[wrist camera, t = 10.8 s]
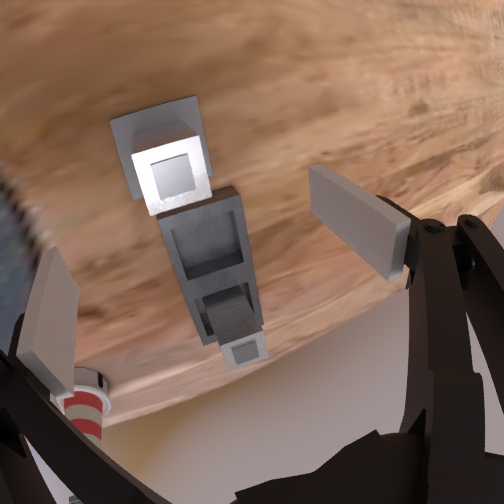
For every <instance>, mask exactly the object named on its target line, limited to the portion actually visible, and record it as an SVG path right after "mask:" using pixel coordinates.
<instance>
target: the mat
mask: <svg viewBox="0 0 504 504" xmlns="http://www.w3.org/2000/svg"><path fill="white" fill-rule="evenodd" d="M178 119H181V120H182V121H184V122H185V123H186V124H187V125H188V126H189V127H190V128H191V129H193V130H194V131H195V132H196V133H197V134H198V135H199V138H200V143H201V147H202V152H203V157H204V161H205V166H206V170H207V175H208V177H211V176H213V173H212V169H211V164H210V159H209V155H208V150H207V145H206V140H205V135H204V131H203V126H202V121H201V116H200V111H199V106H198V101H197V96H191V97H187V98H183V99H179V100H175V101H171V102H167V103H164V104H160V105H157V106H153V107H150V108H146V109H143V110H140V111H136V112H133V113H130V114H127V115H124V116H121V117H118V118H115V119H112V120H109V122H110V126H111V129H112V133H113V137H114V140H115V144H116V147H117V151H118V154H119V157H120V161H121V164H122V167H123V170H124V174H125V177H126V180H127V183H128V186H129V189H130V192H131V196H132V199H133V200H136V199H139V198H142V197H144V195H143V192H142V188H141V185H140V182H139V179H138V175H137V172H136V169H135V165H134V162H133V158H132V136H133V133H134V132H137V131H140V130H143V129H147V128H150V127H153V126H157V125H160V124H164V123H167V122H171V121H174V120H178Z"/></svg>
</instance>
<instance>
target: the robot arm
mask: <svg viewBox="0 0 504 504" xmlns="http://www.w3.org/2000/svg"><path fill="white" fill-rule="evenodd" d="M309 179H310V195H311V213H312V214H313V215H315V216H316V217H317V218H318V219H319V220H320V221H322V222H323V223H324V224H325V225H326V226H327V227H328V228H330V229H331V230H332V231H333V232H334V233H335V234H336V235H338V236H339V237H340V238H341V239H342V240H343V241H344V242H345V243H347V244H348V245H349V246H350V247H351V248H352V249H353V250H354V251H355V252H357V253H358V254H359V255H360V256H361V257H362V258H363V259H364V260H365V261H366V262H368V263H369V264H370V265H371V266H372V267H373V268H374V269H375V270H376V271H377V272H378V273H379V274H381V275H382V276H383V277H384V278H385V279H386V280H387V281H388V282H389V281H392V280H394V279H396V278H398V277H400V276H402V272H403V266H404V264H405V265H406V266H407V267H408V268H410V270H409V275H408V280H407V284H406V289H408V287H409V358H408V376H407V377H408V378H407V390H406V401H405V411H404V416H403V420H402V423H401V426H400V430H399V433H390V434H384V435H379V433H378V432H377V430H374V431H372V432H370V433H369V434H367V435H365V436H364V437H362V438H360V439H358V440H356V441H354V442H353V443H351V444H349V445H347V446H345V447H344V448H342V449H341V450H340V451H339V452H338V453H337V454H335V455H334V456H333V457H332V458H331V459H329V460H328V461H327V462H326V463H325V464H323V465H322V466H321V467H320V468H318V469H317V470H316V471H314V472H312V473H308V474H303V475H297V476H292V477H286V478H280V479H273V480H269V481H267V482H264V483H261V484H259V485H256V486H253V487H250V488H247V489H244V490H241V491H238V492H235V495H236V497H237V499H236V500H235V501H233V502H232V503H230V504H504V456H503V455H498V454H493V453H488V452H485V408H484V389H483V381H482V376H481V375H480V373H475V372H474V371H473V366H472V355H471V346H470V338H469V330H468V323H467V317H466V312H467V315H468V317H469V319H470V322H471V324H472V326H473V329H474V331H475V334H476V336H477V339H478V341H479V344H480V346H481V349H482V352H483V354H484V357H485V360H486V362H487V365H488V368H489V371H490V373H491V377H492V380H493V383H494V386H495V389H496V392H497V395H498V399H499V402H500V405H501V408H502V411H503V414H504V249H503V248H502V246H501V245H500V243H499V242H498V241H497V239H496V238H495V237H494V236H493V234H492V233H491V232H490V230H489V229H488V228H487V226H486V225H485V224H484V223H483V221H481V220H480V219H479V218H477V217H476V216H474V215H473V216H472V215H470V214H469V215H467V214H464V215H460V216H459V217H458V221H457V226H449V227H446V226H445V225H444V224H443V223H442V222H440V221H438V220H435V219H422V220H420V219H418V218H417V217H415V216H414V215H412V214H411V213H409V212H408V211H406V210H405V209H403V208H401V207H400V206H399V205H397V204H395V203H394V202H392V201H391V200H389V199H388V198H385V197H382V196H379V195H376V196H375V195H373V194H372V193H370V192H368V191H367V190H365V189H364V188H362V187H360V186H359V185H357V184H355V183H354V182H352V181H350V180H349V179H347V178H345V177H344V176H342V175H340V174H339V173H337V172H335V171H334V170H332V169H330V168H328V167H327V166H325V165H323V164H317V165H313V166H309ZM474 262H475V265H474ZM78 300H79V288H78V286H77V284H76V282H75V281H74V279H73V277H72V275H71V273H70V271H69V270H68V268H67V266H66V264H65V262H64V260H63V258H62V256H61V254H60V252H59V250H58V248H57V246H56V247H54V248H51V249H49V250H46V251H44V253H43V255H42V258H41V261H40V264H39V267H38V271H37V274H36V277H35V280H34V283H33V287H32V290H31V294H30V297H29V301H28V305H27V308H26V312H25V313H23V314H21V315H20V317H19V318H18V320H17V322H16V323H15V327H14V331H13V335H12V339H11V341H12V342H11V344H10V348H9V353H8V357H7V356H6V355H5V353H4V352H3V351H2V350H1V349H0V504H56V502H55V500H54V498H53V496H52V494H51V493H50V491H49V489H48V487H47V485H46V483H45V481H44V479H43V477H42V475H41V473H40V471H39V469H38V467H37V465H36V462H35V460H34V458H33V456H32V454H31V451H30V449H29V447H28V444H27V442H26V439H25V437H26V438H27V440H28V441H29V442H30V444H31V445H32V446H33V448H34V449H35V450H36V451H37V453H38V454H39V455H40V456H41V458H42V459H43V460H44V461H45V462H46V464H47V465H48V466H49V467H50V468H51V470H52V471H53V472H54V473H55V474H56V475H57V476H58V477H59V479H60V480H61V481H62V482H63V483H64V484H65V485H66V486H67V487H68V488H69V489H70V491H71V492H72V493H73V494H74V495H75V496H76V497H77V498H78V499H79V500H80V501H81V502H82V503H83V504H172V503H170V502H169V501H167V500H166V499H164V498H163V497H161V496H160V495H158V494H157V493H155V492H154V491H153V490H151V489H150V488H148V487H147V486H146V485H144V484H143V483H141V482H140V481H139V480H137V479H136V478H135V477H133V476H132V475H131V474H130V473H128V472H127V471H126V470H124V469H123V468H122V467H121V466H119V465H118V464H117V463H115V461H113V460H112V459H111V458H110V457H108V456H107V455H106V454H105V453H104V452H103V451H102V450H100V449H99V448H98V447H97V446H96V445H95V444H94V443H93V442H91V441H90V440H89V439H88V438H87V437H86V436H85V435H84V434H83V433H82V432H81V431H80V430H79V429H78V428H77V427H75V426H74V425H73V424H72V423H71V422H70V421H69V420H68V419H67V418H66V417H65V416H64V415H63V413H62V412H61V411H60V410H59V409H58V408H57V407H56V406H55V405H54V404H53V403H52V402H51V401H50V392H51V393H52V394H53V395H54V396H55V397H56V398H57V399H58V400H61V399H65V398H69V397H73V396H74V358H75V337H76V322H77V310H78ZM24 436H25V437H24Z"/></svg>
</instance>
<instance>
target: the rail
mask: <svg viewBox="0 0 504 504" xmlns="http://www.w3.org/2000/svg"><path fill="white" fill-rule="evenodd" d="M211 193H212V197H210V198H206V199H203V200H200V201H196V202H193V203H190V204H187V205H183V206H180V207H177V208H174V209H171V210H167V211H164V212H161V213H158V214H156V215H157V220H158V223H159V226H160V229H161V232H162V235H163V238H164V241H165V244H166V247H167V250H168V253H169V256H170V259H171V261H172V264H173V267H174V270H175V273H176V275H177V278H178V281H179V284H180V286H181V289H182V292H183V295H184V297H185V300H186V303H187V305H188V308H189V310H190V313H191V316H192V318H193V321H194V323H195V326H196V328H197V331H198V333H199V336H200V338H201V341H202V343H203V346H204V345H207V344H210V343H213V342H216V341H217V339H216V336H215V334H214V331H213V328H212V326H211V323H210V320H209V317H208V315H207V312H206V309H205V306H204V303H203V300H202V297H204V296H207V295H210V294H213V293H216V292H219V291H222V290H224V289H227V288H230V287H233V286H236V285H239V286H240V288H241V290H242V292H243V293H244V295H245V297H246V299H247V301H248V303H249V305H250V307H251V309H252V310H253V312H254V314H255V316H256V318H257V320H258V322H259V323H260V325H264V323H263V317H262V312H261V306H260V301H259V295H258V290H257V285H256V279H255V274H254V268H253V263H252V257H251V252H250V246H249V241H248V235H247V230H246V224H245V219H244V213H243V208H242V202H241V197H240V194H239V193H238V192H237V191H236V190H235V188H234V187H233V186H229V187H226V188H222V189H219V190H215V191H212V192H211Z"/></svg>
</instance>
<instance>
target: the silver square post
mask: <svg viewBox="0 0 504 504" xmlns="http://www.w3.org/2000/svg"><path fill="white" fill-rule="evenodd" d="M202 300H203V303H204V306H205V309H206V312H207V315H208V317H209V320H210V323H211V326H212V328H213V331H214V334H215V336H216V339H217V342H218V344H219V347H220V350H221V352H222V355H223V357H224V360H225V363H226V365H227V368H228V370H229V371H232V370H235V369H238V368H241V367H243V366H246V365H249V364H252V363H254V362H257V361H260V360H262V359H265V358H267V357H268V353H267V347H266V342H265V337H264V332H263V329H262V327H261V325H260V323H259V322H258V320H257V318H256V316H255V314H254V312H253V310H252V309H251V307H250V305H249V303H248V301H247V299H246V297H245V295H244V293H243V292H242V290H241V288H240V286H239V285H236V286H233V287H230V288H227V289H224V290H222V291H219V292H216V293H213V294H210V295H207V296H204V297H202Z"/></svg>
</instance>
